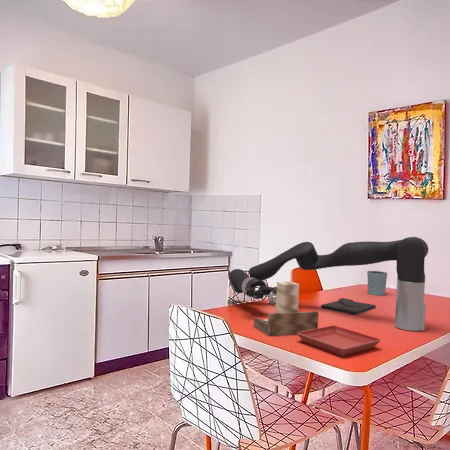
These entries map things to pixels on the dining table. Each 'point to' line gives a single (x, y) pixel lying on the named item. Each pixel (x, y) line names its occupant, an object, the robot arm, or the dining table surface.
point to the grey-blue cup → (376, 282)
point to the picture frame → (348, 306)
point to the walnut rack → (287, 323)
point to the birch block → (287, 297)
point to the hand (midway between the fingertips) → (272, 295)
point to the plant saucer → (338, 340)
